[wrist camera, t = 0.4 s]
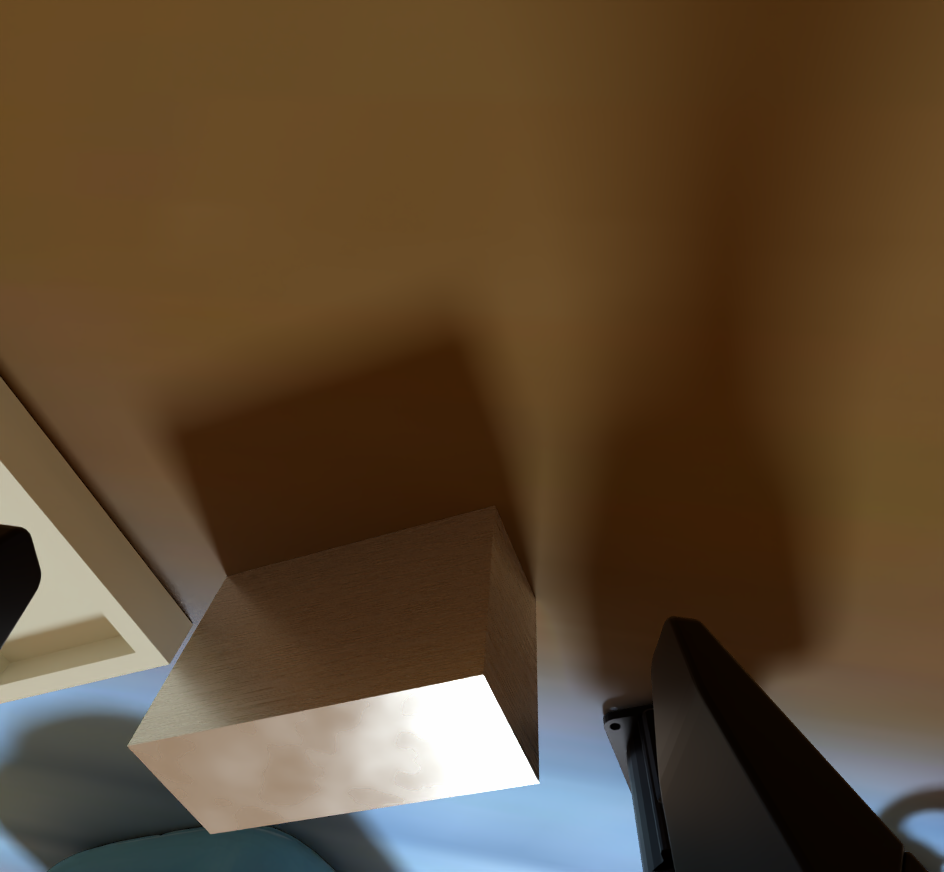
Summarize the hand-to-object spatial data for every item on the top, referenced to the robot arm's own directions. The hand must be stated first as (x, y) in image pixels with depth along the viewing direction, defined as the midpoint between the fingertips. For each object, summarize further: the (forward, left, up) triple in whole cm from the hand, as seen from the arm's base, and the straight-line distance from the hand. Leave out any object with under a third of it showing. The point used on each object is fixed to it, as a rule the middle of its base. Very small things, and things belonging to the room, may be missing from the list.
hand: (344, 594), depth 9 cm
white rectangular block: (-11, +7, -14) cm, 19 cm away
